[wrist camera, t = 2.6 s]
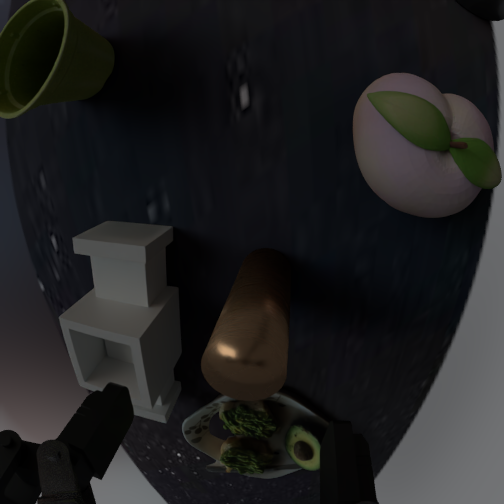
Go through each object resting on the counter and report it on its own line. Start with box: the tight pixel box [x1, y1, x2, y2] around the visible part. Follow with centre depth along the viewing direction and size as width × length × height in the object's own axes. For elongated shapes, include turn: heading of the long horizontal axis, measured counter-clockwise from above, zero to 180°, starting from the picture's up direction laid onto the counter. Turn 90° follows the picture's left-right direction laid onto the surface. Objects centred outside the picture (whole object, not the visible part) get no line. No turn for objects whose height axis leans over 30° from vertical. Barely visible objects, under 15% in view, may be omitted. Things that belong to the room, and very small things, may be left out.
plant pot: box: [0, 0, 115, 119], centre depth 17 cm, size 9×9×9 cm
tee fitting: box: [59, 221, 182, 423], centre depth 24 cm, size 7×18×8 cm, turn 176°
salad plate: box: [182, 388, 330, 478], centre depth 31 cm, size 19×18×5 cm
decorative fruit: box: [353, 73, 502, 218], centre depth 16 cm, size 9×8×10 cm
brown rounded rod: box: [201, 248, 291, 401], centre depth 19 cm, size 4×4×12 cm
